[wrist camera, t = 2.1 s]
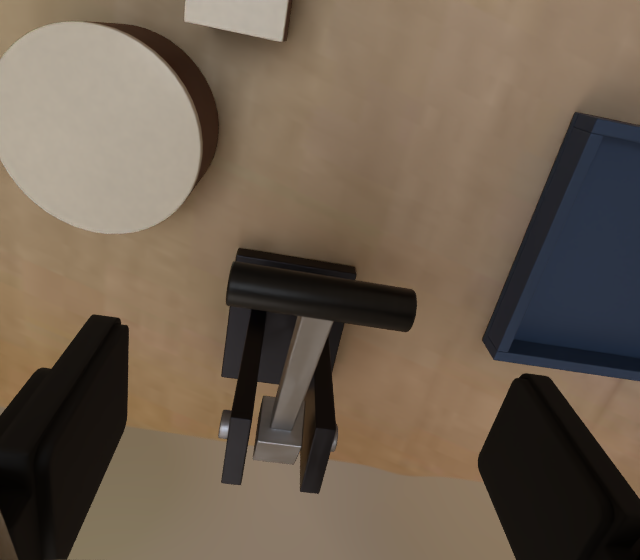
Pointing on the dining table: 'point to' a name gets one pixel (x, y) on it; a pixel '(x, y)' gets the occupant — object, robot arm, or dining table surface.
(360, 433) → the dining table surface
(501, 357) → the tray
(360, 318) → the lever
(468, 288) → the dining table surface
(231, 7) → the cake slice
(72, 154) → the cake
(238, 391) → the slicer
